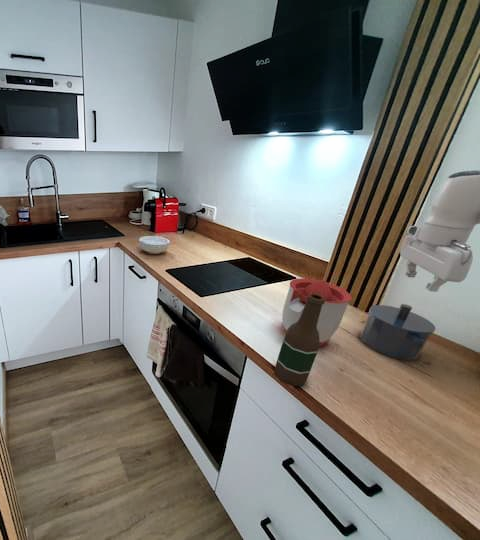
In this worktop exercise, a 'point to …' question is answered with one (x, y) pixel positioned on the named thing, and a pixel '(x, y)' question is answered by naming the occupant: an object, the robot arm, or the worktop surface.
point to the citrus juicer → (330, 310)
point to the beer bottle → (300, 345)
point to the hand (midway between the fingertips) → (419, 283)
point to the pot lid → (402, 319)
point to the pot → (392, 340)
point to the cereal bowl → (154, 244)
